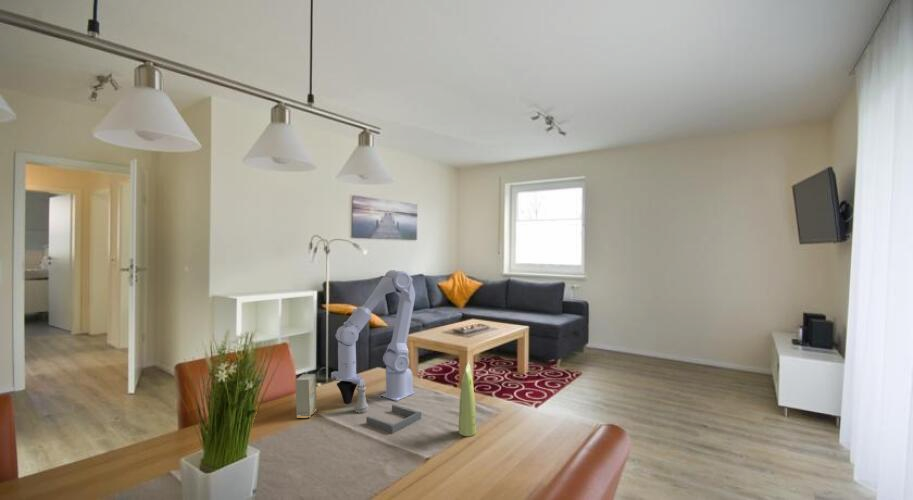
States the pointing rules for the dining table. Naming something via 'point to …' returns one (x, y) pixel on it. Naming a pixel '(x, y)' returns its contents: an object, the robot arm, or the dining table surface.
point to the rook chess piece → (361, 400)
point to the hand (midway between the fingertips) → (347, 403)
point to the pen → (393, 428)
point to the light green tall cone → (467, 405)
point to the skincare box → (306, 394)
